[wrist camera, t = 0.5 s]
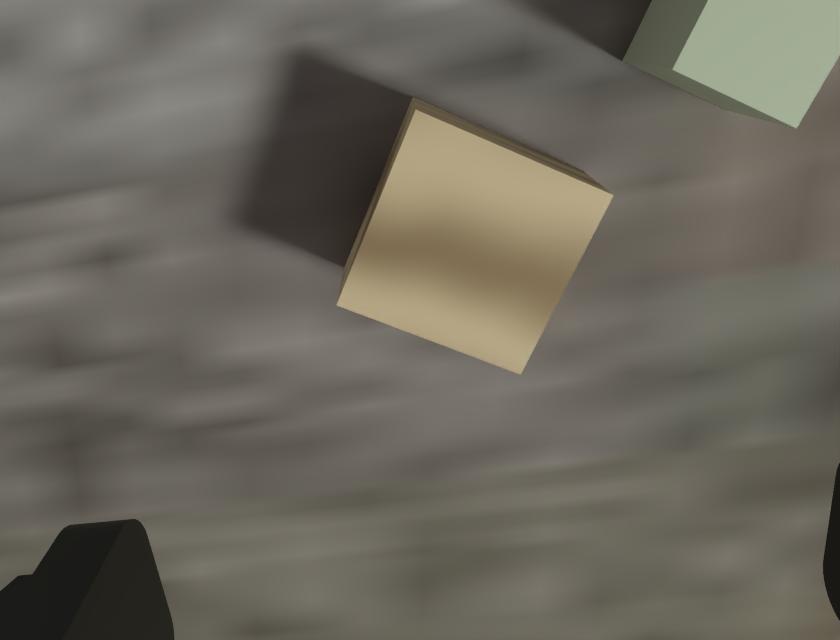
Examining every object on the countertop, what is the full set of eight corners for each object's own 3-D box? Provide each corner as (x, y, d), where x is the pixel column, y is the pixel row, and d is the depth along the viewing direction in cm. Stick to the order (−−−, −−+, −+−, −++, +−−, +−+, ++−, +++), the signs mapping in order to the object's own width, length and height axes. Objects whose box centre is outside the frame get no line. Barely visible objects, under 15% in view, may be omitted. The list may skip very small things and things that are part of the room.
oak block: (412, 96, 31) (415, 109, 26) (582, 170, 32) (613, 195, 28) (344, 266, 34) (336, 305, 29) (504, 327, 35) (520, 374, 30)
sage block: (683, -65, 29) (752, -86, 23) (790, -10, 30) (882, -17, 24) (621, 61, 30) (672, 69, 25) (725, 109, 31) (796, 128, 26)
